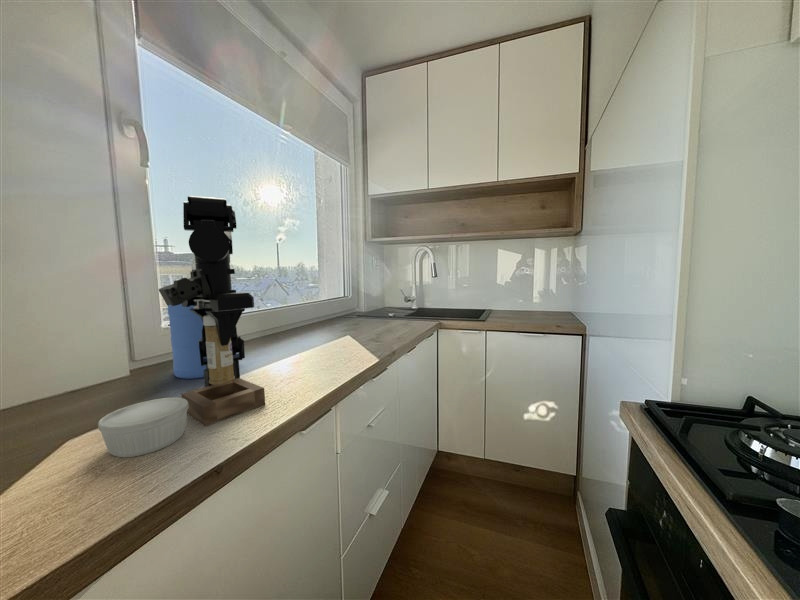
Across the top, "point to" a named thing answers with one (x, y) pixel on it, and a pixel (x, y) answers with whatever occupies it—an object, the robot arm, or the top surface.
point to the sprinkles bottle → (217, 355)
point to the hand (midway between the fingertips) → (219, 343)
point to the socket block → (223, 400)
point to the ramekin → (144, 426)
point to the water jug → (186, 342)
